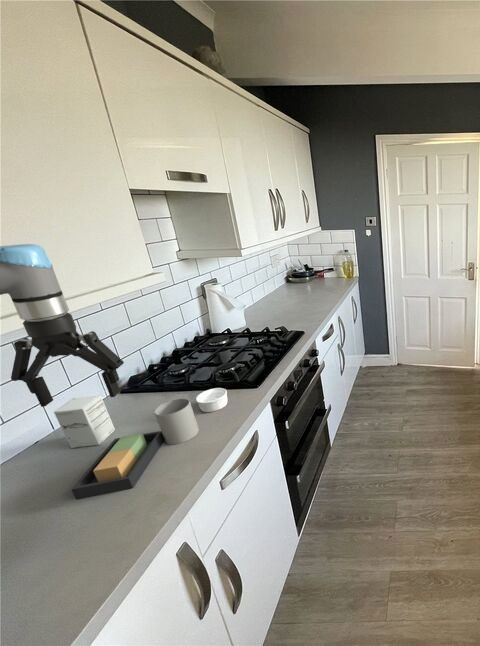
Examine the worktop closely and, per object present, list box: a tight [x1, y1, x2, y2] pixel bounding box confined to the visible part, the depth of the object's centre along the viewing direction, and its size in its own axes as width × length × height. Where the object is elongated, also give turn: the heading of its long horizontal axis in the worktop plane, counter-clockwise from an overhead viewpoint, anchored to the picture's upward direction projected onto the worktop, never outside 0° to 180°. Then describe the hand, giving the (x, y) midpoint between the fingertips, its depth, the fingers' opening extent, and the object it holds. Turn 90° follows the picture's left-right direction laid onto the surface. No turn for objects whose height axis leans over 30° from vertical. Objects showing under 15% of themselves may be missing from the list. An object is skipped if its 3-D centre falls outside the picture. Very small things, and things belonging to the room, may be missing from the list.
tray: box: [70, 430, 165, 500], centre depth 91 cm, size 12×19×3 cm, turn 16°
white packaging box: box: [53, 395, 116, 449], centre depth 100 cm, size 7×7×13 cm
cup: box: [153, 398, 200, 445], centre depth 102 cm, size 8×8×10 cm
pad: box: [108, 432, 148, 462], centre depth 94 cm, size 5×6×4 cm
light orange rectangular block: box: [93, 449, 136, 482], centre depth 88 cm, size 5×6×4 cm
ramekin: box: [195, 387, 229, 413], centre depth 116 cm, size 9×9×4 cm
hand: (82, 398), depth 84 cm, fingers open, 13 cm apart
